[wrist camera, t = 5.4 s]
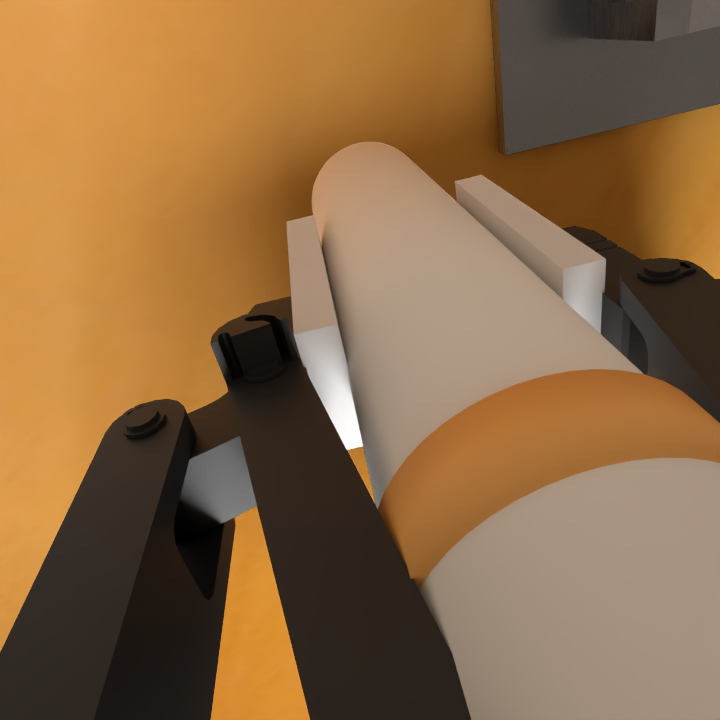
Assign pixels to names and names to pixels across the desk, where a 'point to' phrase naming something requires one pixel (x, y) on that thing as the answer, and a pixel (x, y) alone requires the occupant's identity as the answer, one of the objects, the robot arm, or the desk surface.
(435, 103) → the desk surface
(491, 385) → the tube
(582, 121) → the collar stand
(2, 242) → the desk surface
